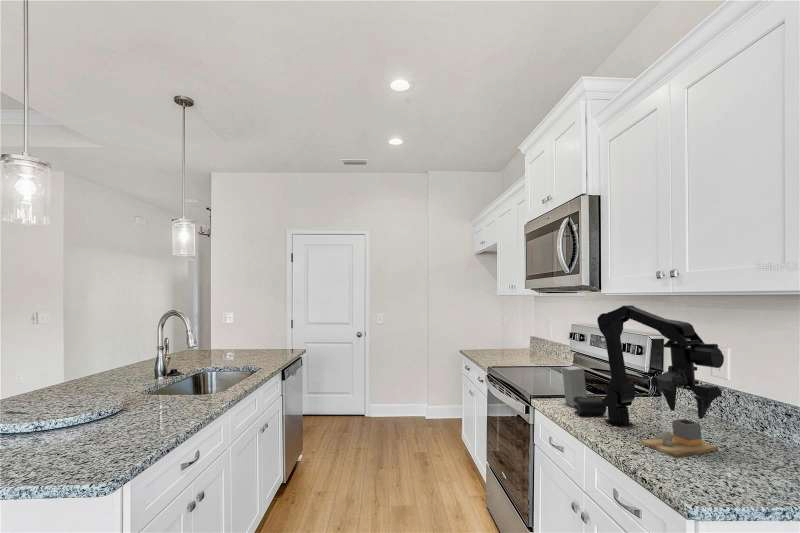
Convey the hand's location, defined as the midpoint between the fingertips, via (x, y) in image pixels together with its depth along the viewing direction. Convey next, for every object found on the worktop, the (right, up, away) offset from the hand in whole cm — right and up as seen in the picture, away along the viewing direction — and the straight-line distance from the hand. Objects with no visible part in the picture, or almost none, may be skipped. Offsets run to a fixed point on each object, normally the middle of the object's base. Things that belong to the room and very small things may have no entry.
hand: (686, 414), depth 125 cm
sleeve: (0, -8, 0) cm, 8 cm away
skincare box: (-14, -13, +46) cm, 50 cm away
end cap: (-14, -12, +33) cm, 38 cm away
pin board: (-4, -9, -2) cm, 10 cm away
